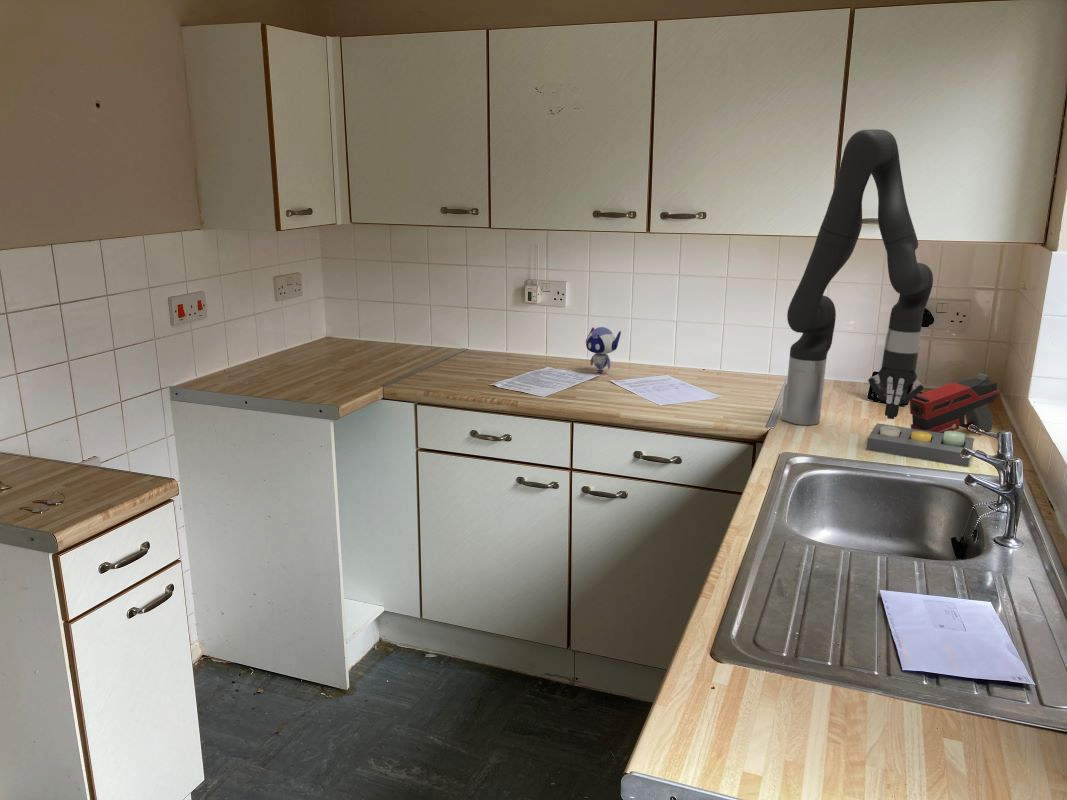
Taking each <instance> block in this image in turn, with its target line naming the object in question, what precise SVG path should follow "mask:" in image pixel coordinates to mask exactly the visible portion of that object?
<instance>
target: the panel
mask: <svg viewBox="0 0 1067 800" xmlns="http://www.w3.org/2000/svg"><path fill="white" fill-rule="evenodd" d="M883 426H890V427H896V428H898V429H900V435H899V437H893V436H887V435H881V434H880V429H881V427H883ZM913 431H923V432H928V433H930V434H931V435H932V436H931V442H925V441H919V440H912V439H911V433H912V432H913ZM943 438H944V433H938V432H931V431H925V430H918V429H912V428H911V427H903V426H897V425H891V424H885V423H876V424H875V426H874V427H873V428H872V430H871V432H870V433H869V435H868V436H867V439H866V446H865V450H866V451H870V452H871V451H872V452H877V453H878V452H879V453H882V454H883V453H885V454H890V455H895V456H902V457H907V458H912V459H920V460H926V461H932V462H936V461H938V463H942V462H944V464H948V463H951V464H950V465H954V464H955V465H956V466H960V465H962V467H966V466H968V467H969V464H970V460H971V457H970V458H962V457H961V456H960V451H961V449H962V448H967V449H970V450H972V451H973V447H974V442H975V438H974V437H969V436H965V439H964V445H963V447H956V446H950V445H944V444H943ZM955 465H954V466H955Z"/></svg>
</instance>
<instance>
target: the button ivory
mask: <svg viewBox="0 0 1067 800" xmlns="http://www.w3.org/2000/svg"><path fill="white" fill-rule="evenodd" d="M880 434H881V435H887V436H893V437H899V435H900V429H898V428H896V427H890V426H883V427H881V429H880Z"/></svg>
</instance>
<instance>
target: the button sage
mask: <svg viewBox="0 0 1067 800" xmlns="http://www.w3.org/2000/svg"><path fill="white" fill-rule="evenodd" d="M965 437H966V434H965V433H963V432H962V431H961V432H960V431H957V430H955V431H945V432H944V438H943V444H944V445H950V446H956V447H963V445H964V439H965Z"/></svg>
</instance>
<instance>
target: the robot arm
mask: <svg viewBox="0 0 1067 800" xmlns="http://www.w3.org/2000/svg"><path fill="white" fill-rule="evenodd" d="M841 158H842V159H841V162H840V165H839V169H838V175H837V179H836V182H835V186H834V189H833V190H832V191H833V192H832V194H831V197H830V200H829V202H828V206H827V209H826V211H825V212H826V213H825V215H824V216H823V220H822V222H821V225H820V227H819V230H818V233H817V236H816V239H815V243H814V246H813V249H812V251H811V255H810V257H809V260H808V262H807V264H806V268H805V270H804V273H803V275H802V277H801V280H800V282H799V284H798V286H797V288H796V290H795V292H794V293H793V296H792V298H791V300H790V303H789V306H788V308H787V314H786V316H787V317H786V318H787V323H788V326H789V328H790V330H792V331H794V332H795V333H797V334H798V333H799V334H802V335H801V336H800V338H799V339H798V340H796V341H795V342H793V344H791V346H790V350H789V357H788V358H789V360H788V370H787V380H786V384H784V388H783V389H784V390H783V396H782V397H783V399H782V406H781V407H782V409H781V418H780V419H781V421H785V422H787V423H790V424H795V425H802V426H814V425H818V424H819V423H820V421H821V410H822V403H823V396H824V395H823V394H824V393H823V392H824V385H825V376H826V375H825V374H826V369H827V368H826V367H827V358H828V353H829V351H830V349H831V347H832V343H833V339H834V332H835V325H836V318H837V311H836V310H837V309H836V306H835V304H834V301H833V300H832V299H831V298H830V297H829V296H827V295H825V294H824V293H825V291H826V289H827V287H828V286H829V284H830V282H831V281H832V279H833V278H834V277H835V276H836V275H837V273H838V272H840V270H841V269H842V268H843V267H844V266H845V264H847V262H848V261H849V260H850V258H851V256H852V254H853V252H854V250H855V247H856V245H857V243H858V240H859V237H860V234H861V230H862V227H863V226H862V225H863V197H864V193H865V189H866V186H867V184H868V182H869V180H870V178H871V176H872V177H873V180H874V183H875V185H876V190H877V200H878V201H877V202H878V203H877V222H878V223H877V225H878V228H879V232H880V236H881V239H882V242H883V245H884V247H885V251H886V260H887V261H886V262H887V270H888V277H889V281H890V284H891V286H892V288H893V290H894V291H895V292H896V293H897V294H899V297H898V301H897V302H896V303H895V304H894V305H893V307H892V308H891V311H890V316H889V323H888V328H887V329H888V330H887V333H886V336H885V342H884V347H883V348H884V349H883V355H882V356H883V357H882V361H881V367H880V369H879V371H878V373H877V374H875V375H874V376H870V377H869V379H868V381H867V382H868V383H869V386H871V388H872V390H873V391H874V393H875V394H876V396H877V398H878V399H879V400H880V401H883V402H885V410H884V415H885V416H886V418H887V419H889V420H894V419H895V418H897V417H898V415H899V412H900V411H899V410H900V405H902V404H908V403H910V400H911V399H912V398H913V397H915V396H916V395H919V394H920V393H921V392H923V390H924V389H925V384H924V383H923V382H922V383H921V382H920V381H919V380H918V379H917V378H918V377H917V373H916V371H917V369H916V368H917V364H918V357H919V350H920V349H921V346H920V345H921V331H922V325H923V324H922V323H923V319H924V316H923V315H924V311H925V309H926V306H927V303H928V301H929V298H930V295H931V293H932V289H933V284H934V274H933V271H932V269H931V268H930V267H929V266H928V265H926V264H925V263H922V262H918V261H917V254H916V250H918V248H919V241H918V237H917V234H916V230H915V227H914V225H913V224H914V223H913V221H912V217H911V214H910V211H909V208H908V204H907V197H906V193H905V189H904V183H903V182H904V181H903V175H902V169H901V161H900V153H899V148H898V142H897V139H896V138H895V136H894V135H893V134H892V133H891V132H890V131H888V130H885V129H877V128H876V129H874V128H872V129H862V130H859V131H856V132H855V133H854V134H853V135H851V136H850V137H849V139H848V141H847V142H846V145H845V147H844V149H843V154H842V156H841ZM881 382H882V384H883V386H884V387H885V388H886V393H885V392H884V390H883V388H882V387H881V385H880V383H881ZM912 384H913V385H912ZM910 386H912V388H911V389H912V390H911V391H910V392H908V393H907V394H906V395H904V396H903V393H904V391H906V390H907V389H908V388H909V387H910ZM895 391H896V392H895ZM894 392H895V394H894ZM893 400H894V401H893Z"/></svg>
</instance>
